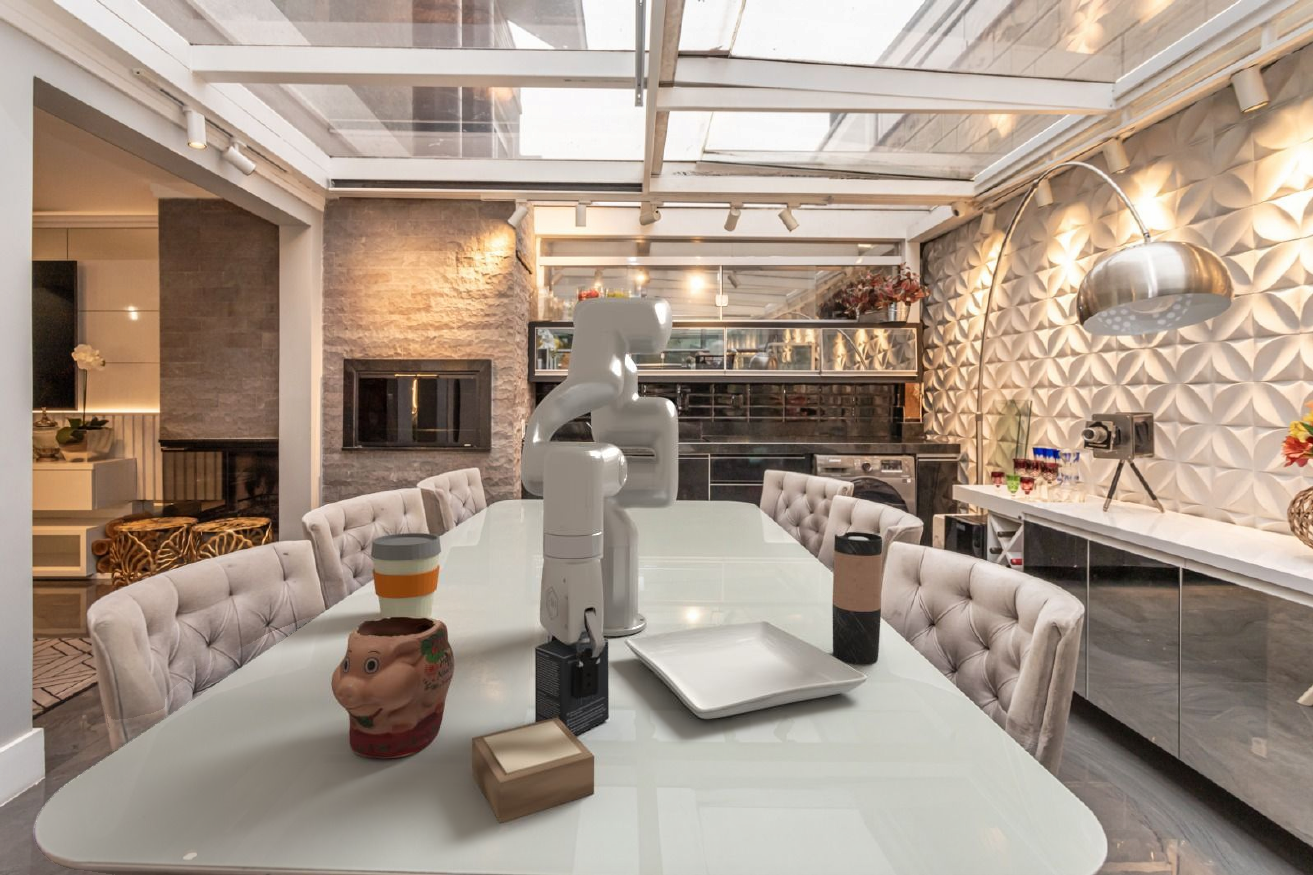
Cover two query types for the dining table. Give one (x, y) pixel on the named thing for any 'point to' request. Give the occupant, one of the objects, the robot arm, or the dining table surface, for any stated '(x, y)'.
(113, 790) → the dining table surface
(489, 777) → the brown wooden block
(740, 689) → the square plate
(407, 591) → the reusable coffee cup
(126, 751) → the dining table surface
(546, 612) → the robot arm
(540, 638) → the dining table surface
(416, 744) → the decorative planter
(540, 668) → the box
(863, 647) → the travel mug
